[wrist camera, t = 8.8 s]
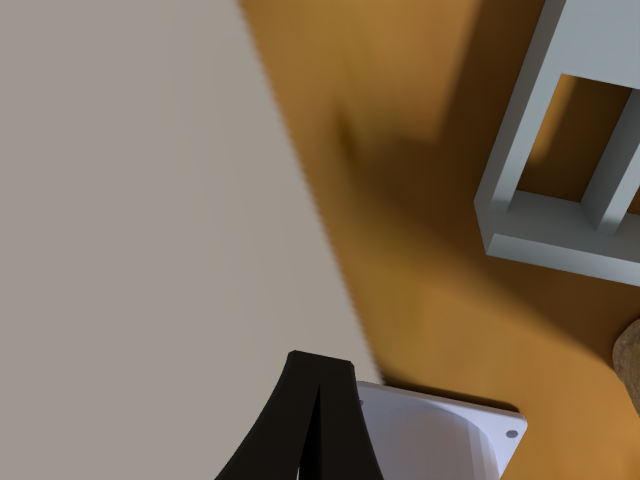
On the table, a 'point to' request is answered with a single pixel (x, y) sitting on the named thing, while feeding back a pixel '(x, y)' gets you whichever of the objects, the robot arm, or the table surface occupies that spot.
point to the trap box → (612, 170)
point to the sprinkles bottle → (629, 361)
